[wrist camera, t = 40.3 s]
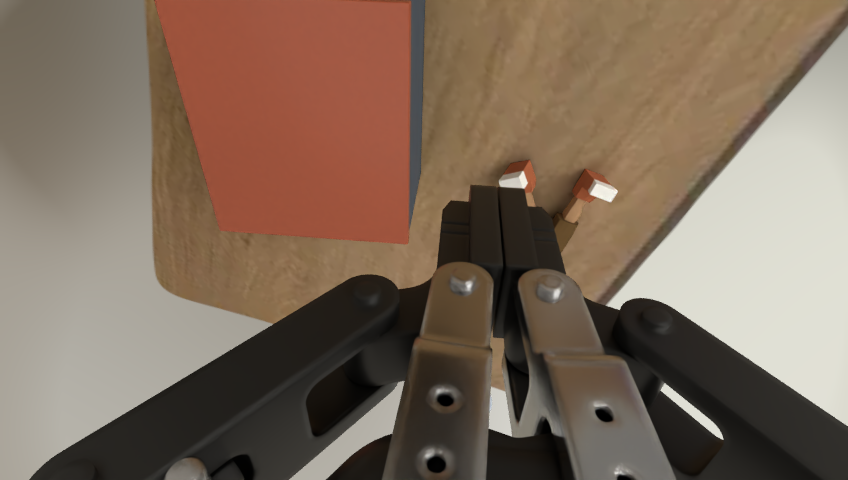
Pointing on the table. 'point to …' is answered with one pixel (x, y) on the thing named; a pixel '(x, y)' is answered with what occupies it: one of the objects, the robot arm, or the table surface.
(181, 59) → the lid
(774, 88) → the table surface
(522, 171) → the character figurine
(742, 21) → the table surface
